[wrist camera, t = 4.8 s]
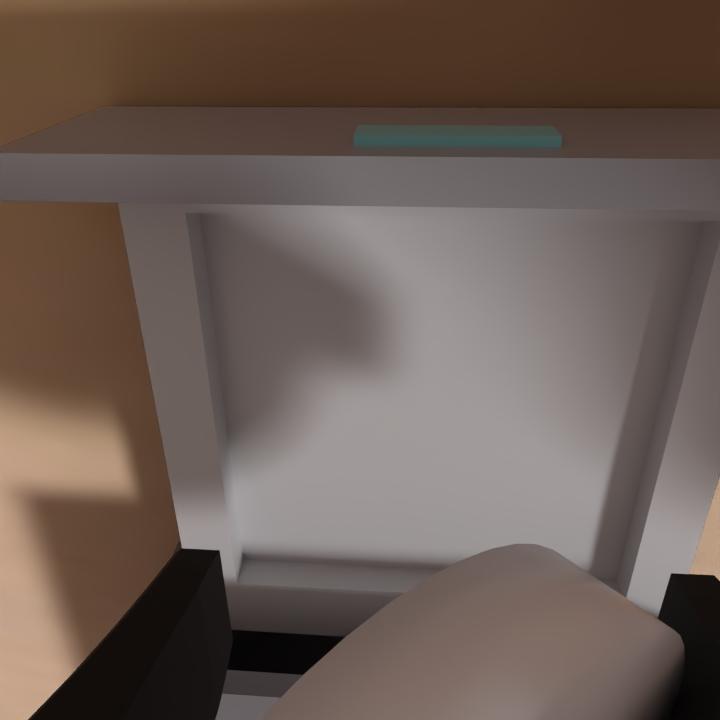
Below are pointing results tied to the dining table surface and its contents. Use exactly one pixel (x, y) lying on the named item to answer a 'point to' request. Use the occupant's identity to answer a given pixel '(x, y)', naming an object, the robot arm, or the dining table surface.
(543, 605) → the disc
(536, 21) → the dining table surface
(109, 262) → the dining table surface
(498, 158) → the grey shallow open box
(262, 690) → the block
